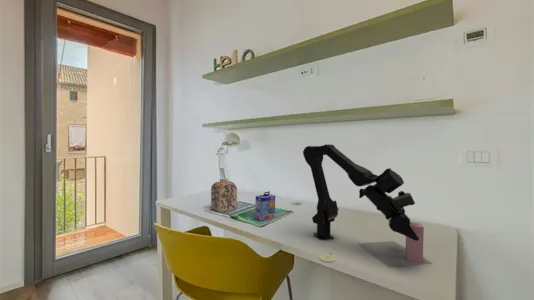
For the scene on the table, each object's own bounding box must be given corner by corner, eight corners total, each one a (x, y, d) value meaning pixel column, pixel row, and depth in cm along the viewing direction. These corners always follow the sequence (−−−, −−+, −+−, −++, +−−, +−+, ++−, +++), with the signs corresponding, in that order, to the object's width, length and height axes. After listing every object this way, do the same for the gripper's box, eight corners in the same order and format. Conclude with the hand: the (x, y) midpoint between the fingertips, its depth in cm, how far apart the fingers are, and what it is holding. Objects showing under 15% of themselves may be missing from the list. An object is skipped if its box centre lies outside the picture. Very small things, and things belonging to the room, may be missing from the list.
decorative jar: (210, 208, 152) (210, 178, 151) (227, 205, 159) (227, 177, 158) (219, 212, 142) (219, 181, 142) (237, 209, 149) (237, 179, 149)
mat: (357, 244, 98) (357, 243, 98) (393, 241, 101) (393, 240, 101) (389, 268, 80) (389, 267, 80) (432, 264, 83) (432, 263, 83)
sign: (342, 246, 96) (333, 262, 83) (342, 249, 96) (332, 265, 83) (329, 244, 98) (317, 258, 85) (329, 246, 98) (317, 261, 85)
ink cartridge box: (261, 221, 126) (261, 193, 126) (254, 219, 131) (254, 191, 130) (275, 218, 133) (275, 190, 133) (268, 215, 137) (268, 189, 137)
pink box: (407, 260, 84) (408, 225, 84) (405, 255, 88) (406, 221, 88) (422, 263, 83) (423, 227, 82) (420, 257, 87) (421, 223, 86)
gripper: (402, 189, 78) (443, 229, 74) (396, 181, 95) (429, 213, 91) (374, 211, 81) (412, 251, 77) (373, 199, 98) (404, 231, 95)
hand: (415, 235), depth 85 cm, fingers open, 9 cm apart
